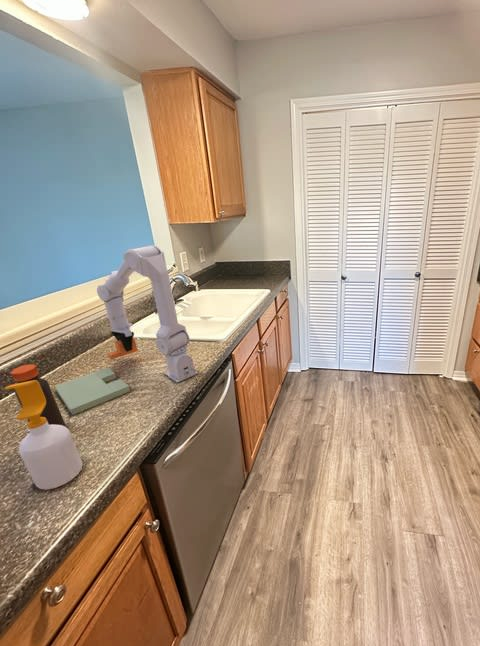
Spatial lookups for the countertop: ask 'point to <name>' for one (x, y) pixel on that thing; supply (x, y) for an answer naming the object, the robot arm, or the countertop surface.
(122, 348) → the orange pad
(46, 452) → the soap bottle
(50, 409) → the vinegar
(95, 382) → the grey tile
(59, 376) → the countertop surface
